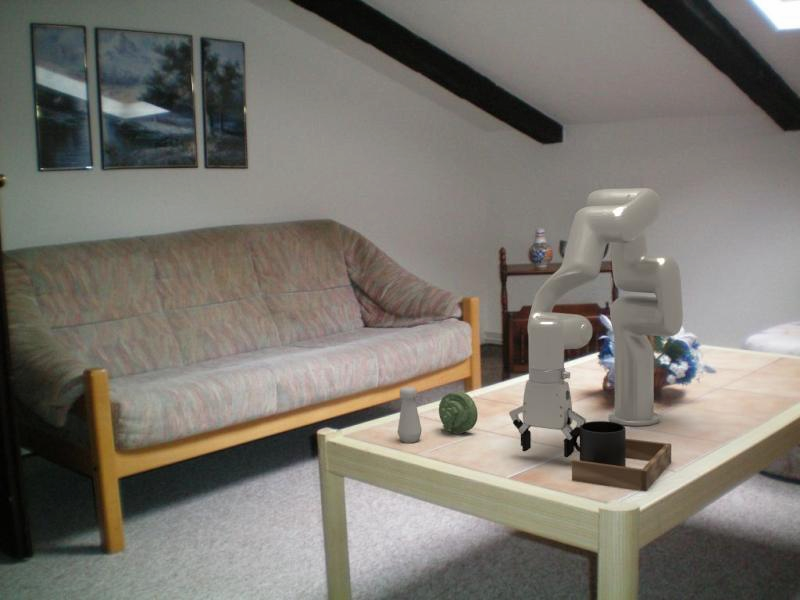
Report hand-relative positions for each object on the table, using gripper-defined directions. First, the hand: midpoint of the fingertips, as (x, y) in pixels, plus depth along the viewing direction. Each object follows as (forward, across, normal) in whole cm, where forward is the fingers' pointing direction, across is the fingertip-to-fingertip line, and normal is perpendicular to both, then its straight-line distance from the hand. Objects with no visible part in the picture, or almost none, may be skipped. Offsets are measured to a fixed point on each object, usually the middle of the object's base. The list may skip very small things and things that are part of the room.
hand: (547, 452), depth 189 cm
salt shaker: (+2, +35, -1) cm, 35 cm away
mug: (+2, -11, -1) cm, 11 cm away
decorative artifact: (+2, +29, -10) cm, 30 cm away
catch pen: (+2, -16, -1) cm, 16 cm away
